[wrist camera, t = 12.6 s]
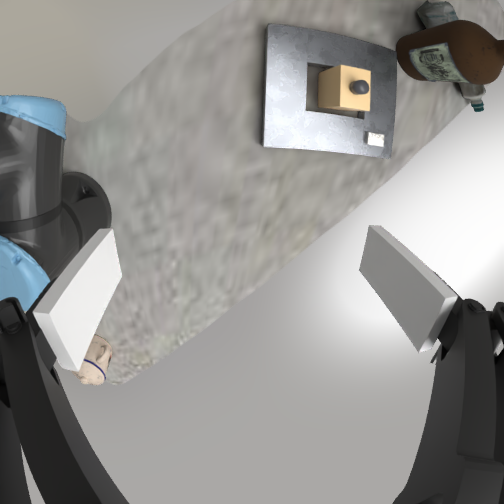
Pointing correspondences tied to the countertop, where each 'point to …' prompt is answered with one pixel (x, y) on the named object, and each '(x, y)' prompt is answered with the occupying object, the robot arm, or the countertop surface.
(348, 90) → the plug
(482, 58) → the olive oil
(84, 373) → the teacup with lid
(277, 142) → the socket plate
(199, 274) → the countertop surface
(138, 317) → the countertop surface
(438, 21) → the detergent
